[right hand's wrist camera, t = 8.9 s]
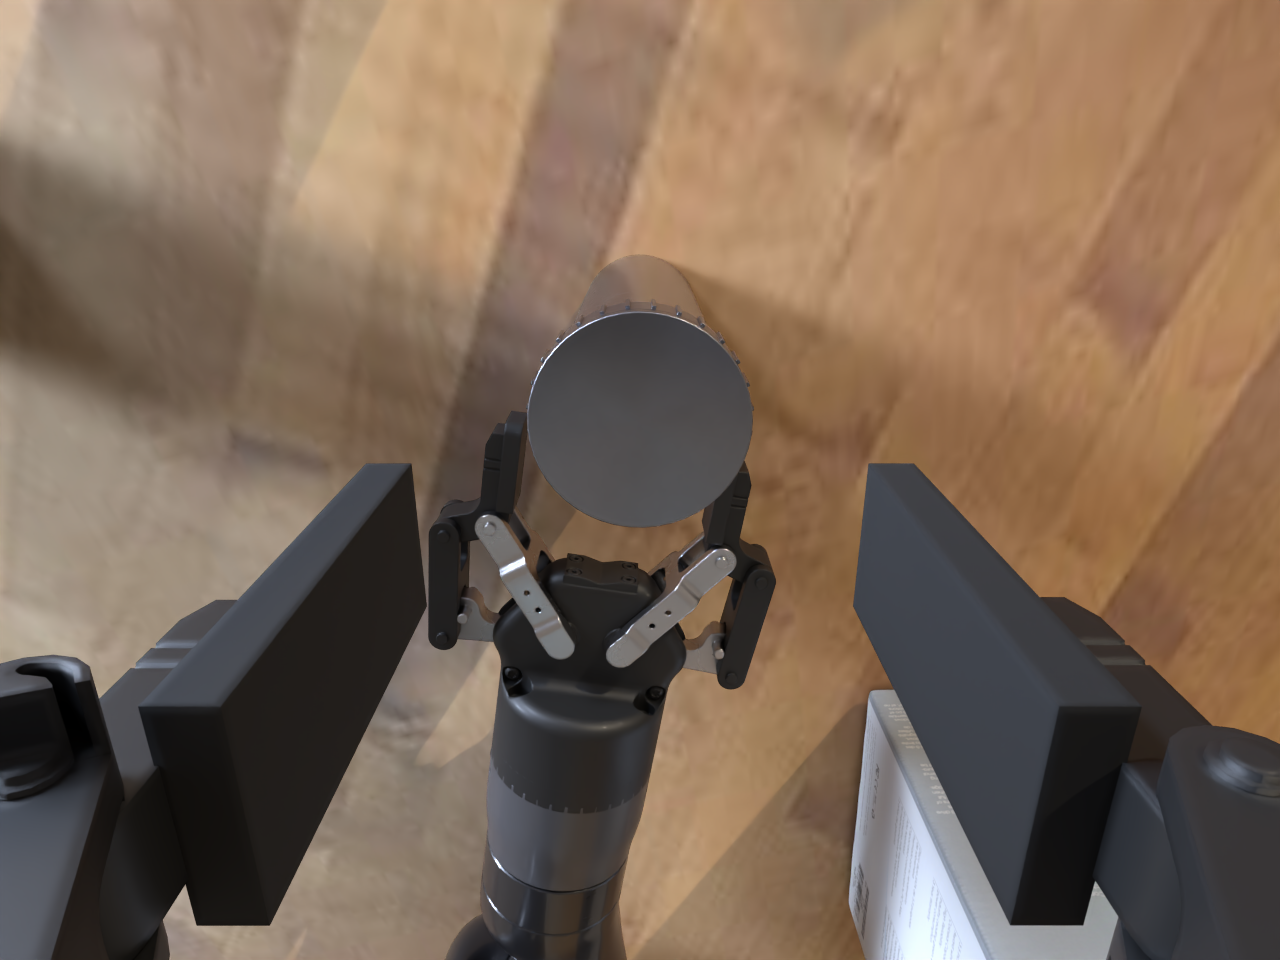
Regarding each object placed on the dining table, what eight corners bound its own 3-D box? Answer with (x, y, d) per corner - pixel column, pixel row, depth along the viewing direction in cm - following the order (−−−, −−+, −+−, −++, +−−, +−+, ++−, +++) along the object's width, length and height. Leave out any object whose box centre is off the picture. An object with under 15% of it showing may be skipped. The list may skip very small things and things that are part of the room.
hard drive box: (972, 897, 49) (1179, 1349, 30) (845, 900, 49) (973, 1351, 30) (1007, 681, 43) (1288, 1069, 24) (864, 684, 43) (1035, 1074, 24)
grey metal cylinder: (597, 242, 35) (562, 299, 19) (708, 269, 36) (762, 347, 20) (574, 352, 37) (525, 488, 21) (680, 377, 37) (709, 528, 21)
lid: (555, 274, 20) (548, 283, 19) (774, 327, 21) (784, 339, 19) (514, 482, 22) (505, 504, 21) (715, 525, 23) (720, 550, 21)
